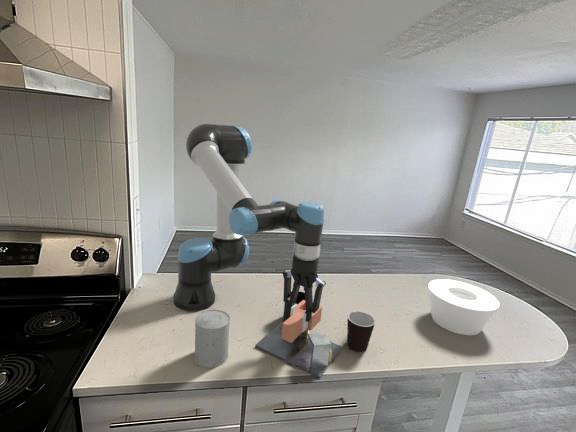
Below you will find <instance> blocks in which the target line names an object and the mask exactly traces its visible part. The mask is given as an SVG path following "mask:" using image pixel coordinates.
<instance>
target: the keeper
mask: <svg viewBox="0 0 576 432" xmlns="http://www.w3.org/2000/svg"><path fill="white" fill-rule="evenodd" d="M308 338H309V340H310V342H311V344H312V346H313V347H312V355H311V363H310V366H311V368H314V367H323V366H328V362H331V356H332V350H331V349H330V346H331V343H330V342H331V341H330V340H329V337H328V336H327V334H326V333H325V332H323V331H321V332H320V331H319V332H309V333H308ZM329 341H330V342H329ZM331 363H332V362H331ZM328 367H329V366H328Z"/></svg>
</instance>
